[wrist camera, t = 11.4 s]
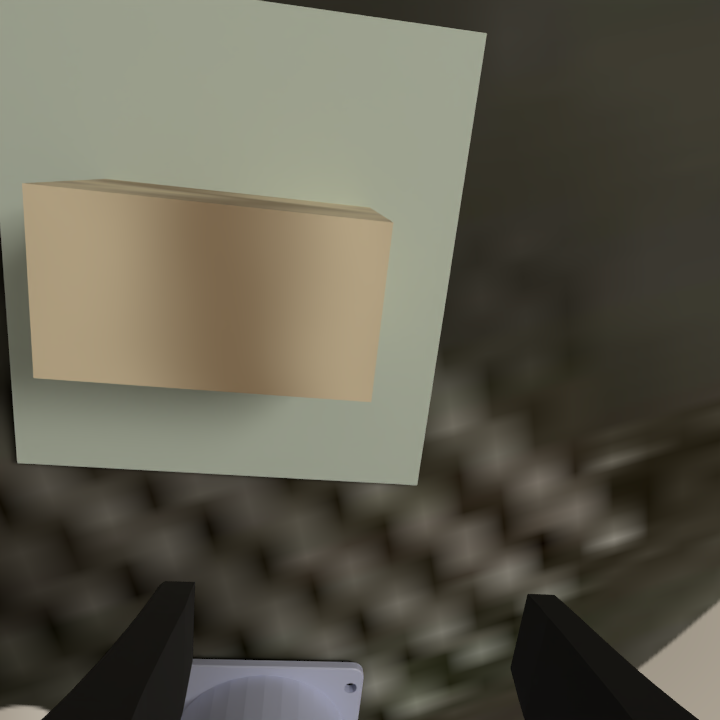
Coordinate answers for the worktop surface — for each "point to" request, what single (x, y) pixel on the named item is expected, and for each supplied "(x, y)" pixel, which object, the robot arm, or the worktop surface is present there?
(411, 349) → the rubber mat
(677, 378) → the worktop surface
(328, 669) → the robot arm
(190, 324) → the birch block
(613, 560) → the worktop surface
